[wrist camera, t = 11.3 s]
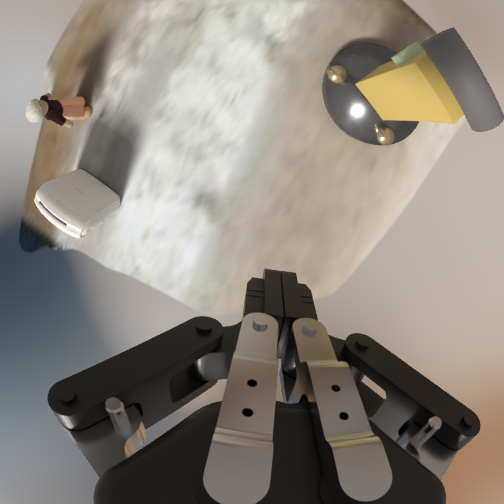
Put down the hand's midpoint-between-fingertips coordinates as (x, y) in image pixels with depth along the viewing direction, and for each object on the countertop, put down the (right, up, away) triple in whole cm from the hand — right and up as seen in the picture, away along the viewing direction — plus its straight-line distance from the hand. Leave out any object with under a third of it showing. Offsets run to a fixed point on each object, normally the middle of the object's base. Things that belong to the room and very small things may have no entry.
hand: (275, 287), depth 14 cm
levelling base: (+16, +24, +20) cm, 35 cm away
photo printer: (-26, +12, +28) cm, 40 cm away
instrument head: (+16, +23, +17) cm, 32 cm away
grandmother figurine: (-28, +25, +22) cm, 44 cm away
